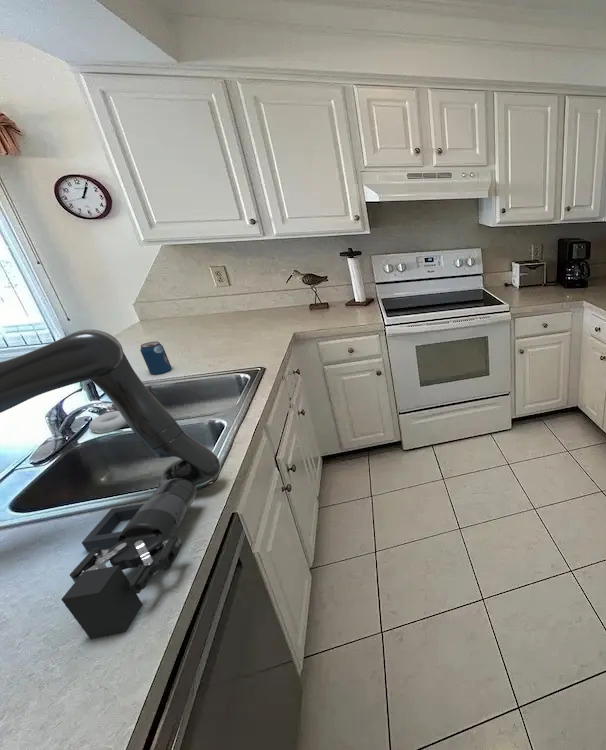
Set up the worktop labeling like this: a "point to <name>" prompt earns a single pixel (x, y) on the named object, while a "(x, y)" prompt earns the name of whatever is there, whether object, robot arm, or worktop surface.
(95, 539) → the dark square frame
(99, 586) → the dark matte cube
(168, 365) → the soda can
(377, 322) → the worktop surface
